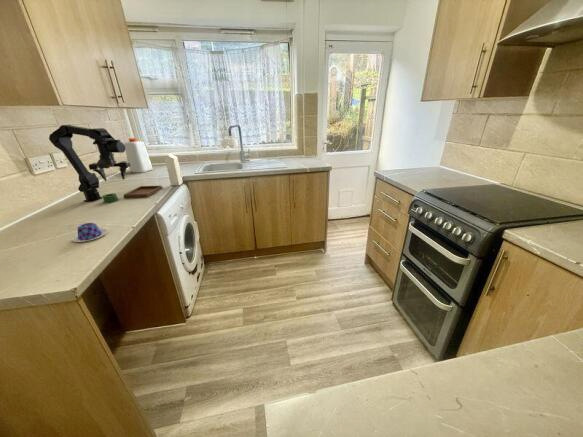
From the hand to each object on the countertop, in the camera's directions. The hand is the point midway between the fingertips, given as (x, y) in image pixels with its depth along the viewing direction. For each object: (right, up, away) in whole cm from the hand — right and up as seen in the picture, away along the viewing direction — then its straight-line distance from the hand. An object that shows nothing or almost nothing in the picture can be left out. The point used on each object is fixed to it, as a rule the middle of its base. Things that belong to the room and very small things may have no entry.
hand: (114, 180), depth 141 cm
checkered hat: (+18, -30, -38) cm, 52 cm away
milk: (+20, +2, +34) cm, 39 cm away
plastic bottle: (-33, +20, +78) cm, 87 cm away
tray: (+7, -6, +17) cm, 19 cm away
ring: (-5, -12, +4) cm, 13 cm away
